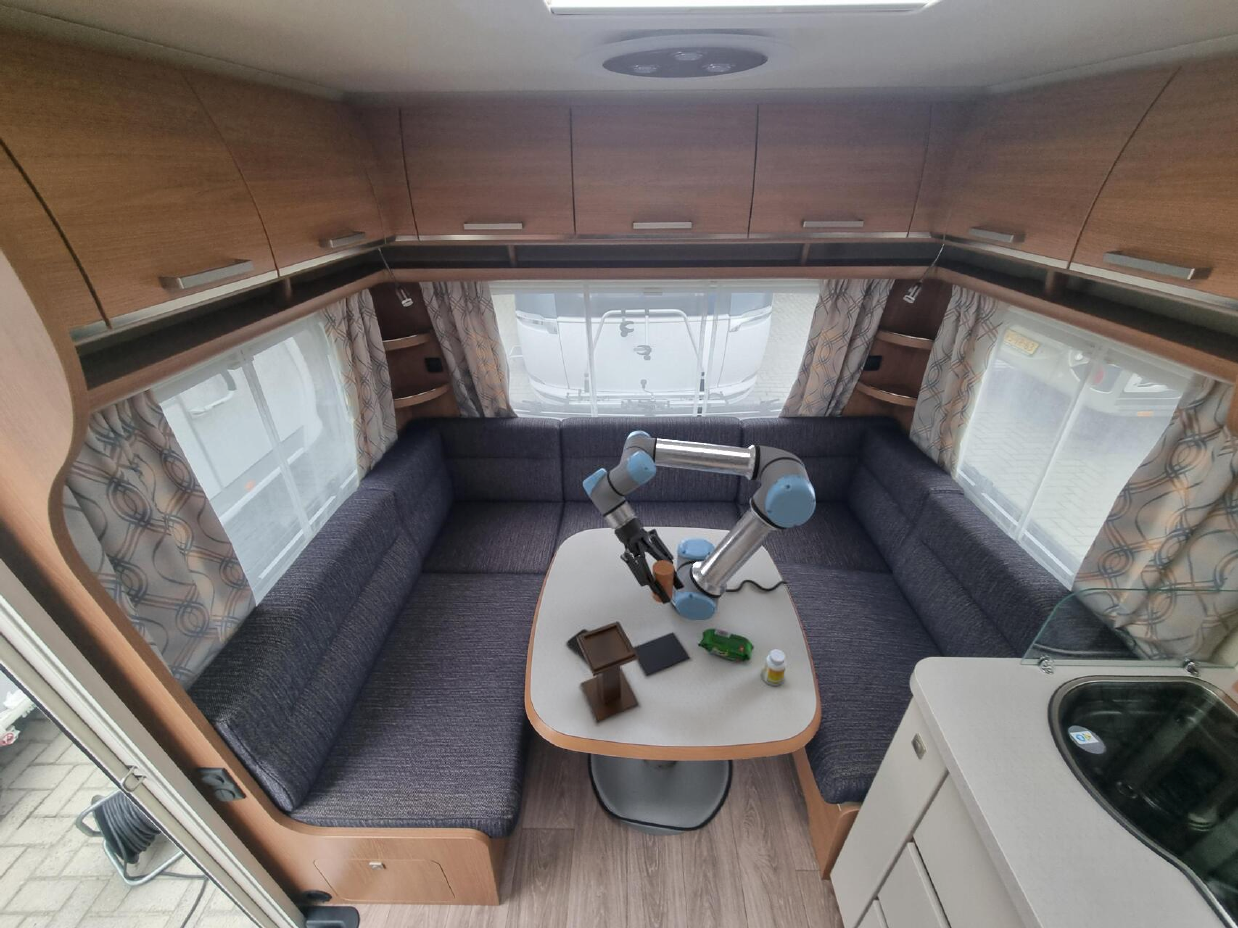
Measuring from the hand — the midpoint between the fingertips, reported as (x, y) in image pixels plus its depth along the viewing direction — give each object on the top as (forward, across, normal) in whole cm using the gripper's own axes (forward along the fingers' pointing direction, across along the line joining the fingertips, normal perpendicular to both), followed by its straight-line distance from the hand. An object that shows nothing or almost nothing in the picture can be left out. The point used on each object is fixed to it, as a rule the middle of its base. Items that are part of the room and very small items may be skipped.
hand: (673, 594), depth 129 cm
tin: (-1, 0, -4) cm, 4 cm away
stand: (+14, +20, -24) cm, 34 cm away
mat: (+16, 0, -21) cm, 27 cm away
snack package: (+27, -13, -11) cm, 32 cm away
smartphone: (+5, +12, -33) cm, 35 cm away
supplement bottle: (+37, -13, 0) cm, 39 cm away
